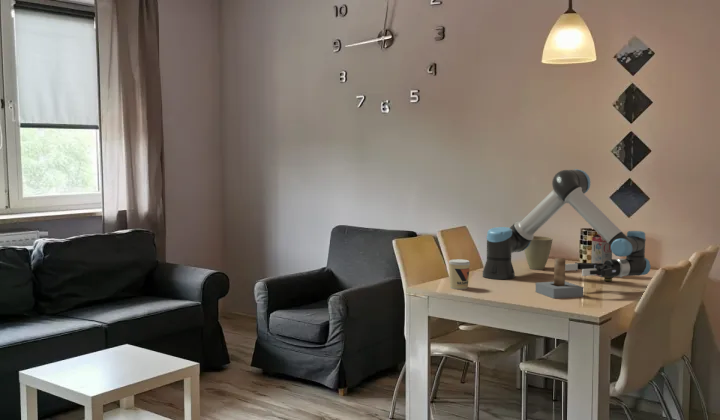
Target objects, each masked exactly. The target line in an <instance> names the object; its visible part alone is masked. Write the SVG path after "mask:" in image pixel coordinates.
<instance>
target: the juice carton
mask: <svg viewBox="0 0 720 420" xmlns="http://www.w3.org/2000/svg"><path fill="white" fill-rule="evenodd" d="M608 259H613V252H612V250H611V246H610V245H609V244H608V243H607V242H606V241H605V240H604V239H603V238H602V237H601V236H600V235H599V234H598V233H597V234H595V235H593V236H592V237H591V262H590V263H598V264H599V263H603V264H604V263H605V261H606V260H608ZM593 276H595V277H601V278H603V277H602V276H601V275H593Z"/></svg>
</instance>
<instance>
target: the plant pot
mask: <svg viewBox="0 0 720 420" xmlns="http://www.w3.org/2000/svg"><path fill="white" fill-rule="evenodd" d="M552 245H553V238H552V237H549V236H540V235H539V236H537V235H536V236H535V235H533V239H532V240H531V242H530V245H529V246H528V247H527V248H526V249H525V250H524V255H525V259H526V263H527V266H528V268H529V269H531V270H544V269H545V268H546V265H547V262H548V259H549V255H550V252H551V249H552Z"/></svg>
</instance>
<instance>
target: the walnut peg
mask: <svg viewBox="0 0 720 420" xmlns="http://www.w3.org/2000/svg"><path fill="white" fill-rule="evenodd" d="M565 264H566V258H559V257H556V258H555V257H554V266H553V270H554V271H553V273H554V274H553V282H554V286H565V282H566V271H565Z"/></svg>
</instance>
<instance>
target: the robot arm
mask: <svg viewBox="0 0 720 420" xmlns="http://www.w3.org/2000/svg"><path fill="white" fill-rule="evenodd" d="M551 185H552V190H551V191H550V192H549V193H548V194H547V195H546V196H545V197H544V198H543V199H542V200H541V201H540V202H539V203H538V204H537V205H536V206H534V208H533V209H532V210H531V211H530V212H529V213H528V214H526V216H525V217H523V219H522V220H521V221H515V222H514V223H513V224H512V225H511V226H510V227H508V226H507V227H506V226H498V227H492V228H489V229H488V230H487V235H486V261H485V264H484V266H483V270H482V277H483V278H486V279H494V280H512V279H514V278H515V277H516V276H515V275H516V273H515V270H514V266H513V263H512V254H513V253H519V252H522V251H525V249H526V248H527V247H528V246H529V245H530V242H531V240H532V239H533V236H534V234H535V233H537V231H538V230H539V229H540V228H542V227H543V226H544V225H545V224H546V223H547V222H548V221H549V220H550V219H551V218H552V217H553V216H554V215H555V214H557V212H558V211H560V210H561V209H562V207H564V206H565V205H566V204H569V206H571V207H572V208H573V209H574V210H575V211H576V213H578V215H579V216H581V217H582V218H583V219H584V221H586V223H588V225H589V226H590V227H591V228H592V229H593V230H594V231H595V232H597V233H598V234H599V235H600V236H601V237H602V238H603V239H604V240H605V241H606V242H607V243H608V244H609V245H610V246H611V250H612V255H615V257H624V258H612V259H608V260H606V261H605V263H604V264H603V263H599V264H598V263H591V262H574V263H565V272H566V271H575V272H577V271H578V270H581V276H583V277H586V276H589V277H590V276H591V277H592V276H594V275H601V276H606V275H607V276H608V277H614V278H615V277H619V278H624V277H630V276H631V277H632V276H633V277H634V276H638V277H639V276H644V275H647V274H649V273H650V271H651V268H652V266H651V264H650V260H649V259H648V258H646V256H645V253H646V252H645V251H646V233H645V231H641V230H629V231H627V233H626V234H625V233H624V232H623V231H622V230H621V229H620V228H619V227H618V226H617V225H616V224H615V223H614V222H613V221H612V220H611V219H610V218H609V217H608V216H607V215H606V214H605V213H604V211H602V210H601V209H600V208H599V207H598V206H597V205H596V204H595V203H594V202H593V201H592V200H591V199H590V198H589V197H588V196H587V195H586V193H587V192H588V191H589V190H590V187H591V179H590V176H589V175H588V173H587V172H586V171H584V170H583V169H582V170H581V169H577V168H574V169H564V170H560V171H558V172H557V173H555V175H554V176H553V178H552V183H551ZM625 257H626V258H625Z"/></svg>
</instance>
